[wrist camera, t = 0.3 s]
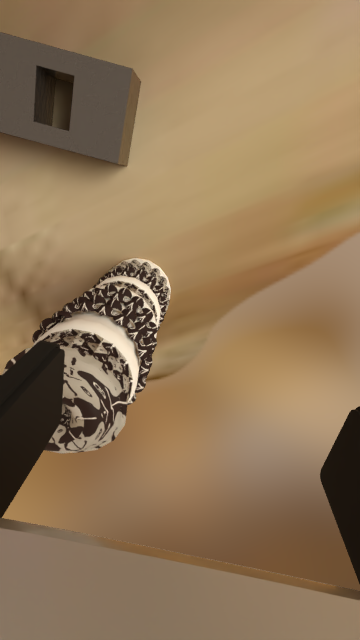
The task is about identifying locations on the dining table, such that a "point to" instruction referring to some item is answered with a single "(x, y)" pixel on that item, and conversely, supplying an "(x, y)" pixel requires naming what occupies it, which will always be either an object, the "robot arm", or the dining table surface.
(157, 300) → the decorative candle
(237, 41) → the dining table surface
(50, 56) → the grey block with holes
